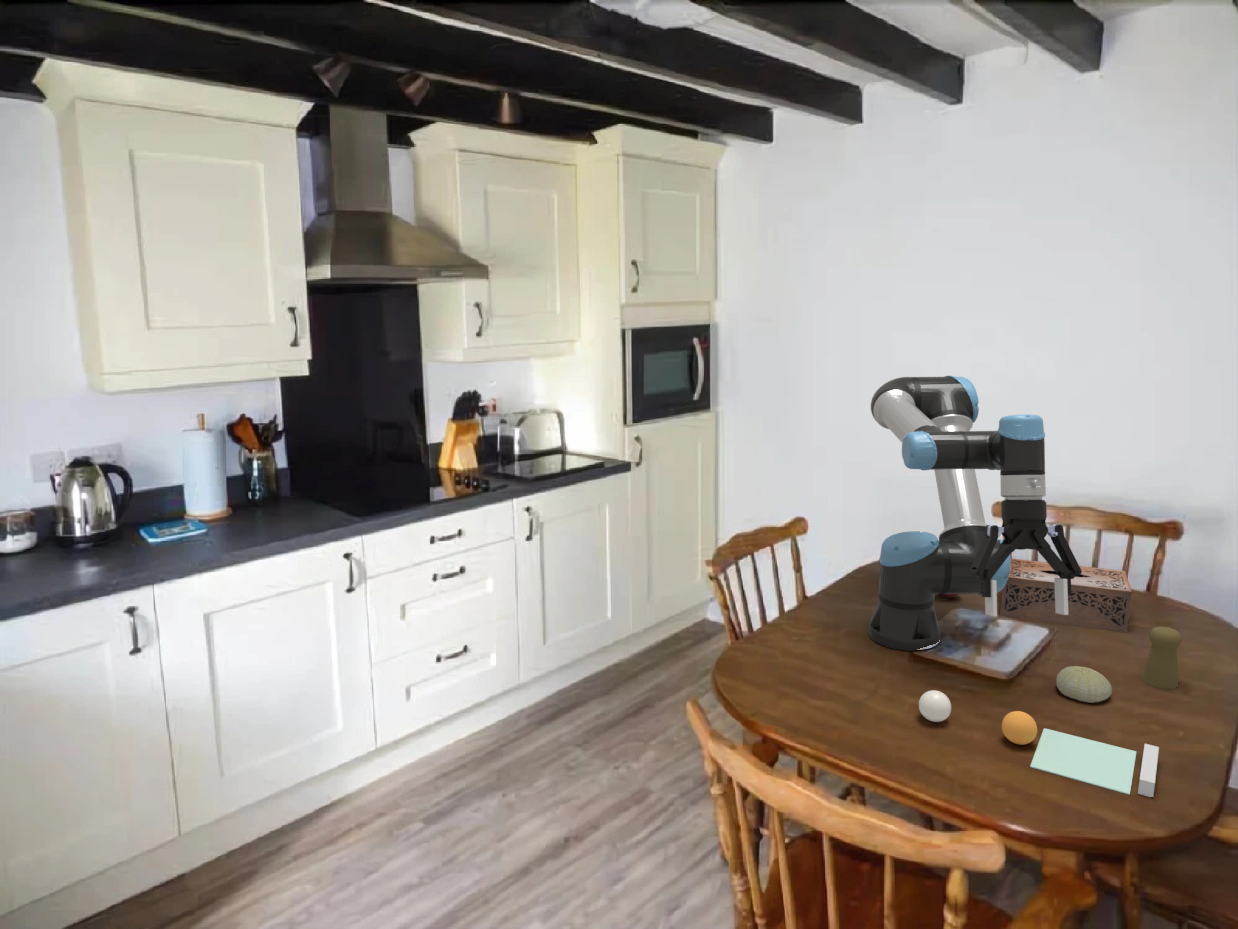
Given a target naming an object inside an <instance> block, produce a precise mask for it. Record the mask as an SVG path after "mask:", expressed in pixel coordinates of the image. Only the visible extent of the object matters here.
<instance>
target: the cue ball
mask: <svg viewBox="0 0 1238 929" xmlns="http://www.w3.org/2000/svg"><path fill="white" fill-rule="evenodd" d="M918 709H919V711H920V714H921V715H922V716H923V718H924V719H926V720H928V721H931V722H934V723H940V722H944V721H946V720H947V719H948V717H949V716H950V715H951V713H952V703H951V701H950V699H949V697H948V696H947V694H945V693H943V692H942V691H939V690H933V689H931V690H928V691H925V692H924V693H922V695H921V696H920V698H919V701H918Z"/></svg>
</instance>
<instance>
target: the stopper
mask: <svg viewBox="0 0 1238 929" xmlns="http://www.w3.org/2000/svg"><path fill="white" fill-rule="evenodd" d="M1143 747H1144V748H1143V754H1142V761H1141V767H1140V768H1141V769H1140V776H1139V783H1138V790H1137V794H1138V795H1142V796H1145V797H1147V798H1151V797H1153V798H1154V795H1155V794H1154V793H1155V786H1156V776H1157V768H1158V759H1159V750H1160V746H1157V745H1152V744H1148V743H1144V745H1143Z"/></svg>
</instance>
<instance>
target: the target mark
mask: <svg viewBox="0 0 1238 929" xmlns="http://www.w3.org/2000/svg"><path fill="white" fill-rule="evenodd" d="M1136 757H1137V751H1136V750H1132V749H1127V748H1124V747H1119V746H1116V745H1113V744H1108V743H1105V742H1101V741H1098V740H1093V739H1089V738H1088V739H1087V738H1085V737H1081V736H1078V735H1074V734H1073V735H1072V734H1069V733H1065V732H1060V731H1057V730H1053V729H1049V728H1046V727H1045V728H1043V729H1042V733H1041V735H1040V738H1039V740H1038V744H1037V746H1036V749H1035V752H1034V755H1033V757H1032V760H1031V763H1030V765H1029V767H1030V768H1031V769H1034V770H1035V769H1036V770H1038V771H1039V770H1040V771H1041V772H1042V771H1043V772H1046V773H1050V774H1053V775H1057V776H1061V777H1064V778H1068V779H1071V780H1074V781H1078V782H1082V783H1086V784H1089V785H1093V786H1096V787H1099V788H1104V789H1107V790H1111V791H1115V792H1117V793H1118V792H1119V793H1122V794H1126V795H1129V796H1130V794H1131V791H1132V790H1131V789H1132V784H1133V776H1134V769H1135V764H1136Z"/></svg>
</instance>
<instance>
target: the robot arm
mask: <svg viewBox="0 0 1238 929" xmlns="http://www.w3.org/2000/svg"><path fill="white" fill-rule="evenodd" d="M979 408H980V407H979V396H978V392H977V390H976V386H974V384H973V382H972V381H971V380H970V379H969V378H966V377H963V376H954V375H945V376H902V377H897V378H894V379H891V380H888V381H887V382H885V383H883V384H882V385H881V386H879V388H878V389H877V390H876V391H875V392H874V394H873V396H872V398H871V400H870V412H871V415H872V418H873V419H874V420H875V421H876V422H877V424H878V425H879V426H881V427H882V428H885V429H887V430H889V431H891V432H892V433H893V435H894V436H895V437H896V438H897V439H898V440H899V441H900V443H901V457H902V460H903V464H904V466H905V467H906V468H907V469H910V470H921V471H931V470H932V471H934V475H935V483H936V487H937V493H938V497H939V498H938V499H939V504H940V511H941V516H942V521H943V528H944V529H943V530H942V531H941V532H940V533H939V535H938V537H937V536H936V535H935V534H933V533H931V532H927V531H922V532H921V531H917V530H916V531H913V530H912V531H901V532H897V533H895V534H892V535H890V536H888V537H886V538H885V539H884V540H883V542H882V543H881V549H880V555H879V560H878V561H879V575H878V576H879V577H878V578H879V580H878V597H877V598H878V601H877V604H876V605H875V609H874V610H873V613H872V615H871V619H870V620H869V624H868V635H869V637H870V638H871V640H873V642H875V643H877V644H879V645H881V646H883V647H887V648H890V649H895V650H899V651H909V652H910V651H912V652H915V651H914V650H917V649H920V648H923V647H927V646H929V645H933V644H936V643H937V642H939V640H940V641H941V637H942V636H941V634H942V633H941V632H942V631H941V628H940V624H939V620H938V616H937V614H936V613H937V612H936V610H935V595H937V594H958V595H979V596H981V597H983V598H984V606H985V608H984V609H985V615H986V616H991V617H998V596H997V595H998V593H999V592H1002V589H1003V588H1004V587H1005V585H1006V583H1007V581H1008V577H1009V573H1010V566H1011V557H1012V556H1011V554H1013V552H1015V550H1019V551H1020V550H1021V551H1023V550H1034V551H1037V552H1038V553H1039V554H1040V556H1042V558H1043V560H1045V561H1046V562H1048V564H1049V565H1050V566H1051V567H1052V568H1053V570H1054V571H1055V572H1056V573H1057V574H1058V576H1059V577H1060V578H1054V582H1055V613H1058V614H1062V615H1068V596H1071V579H1073V578H1075V575H1080V574H1081V573H1082V571H1081V568H1080V567H1079V566H1080V565H1079V563H1078V561H1077V559H1076V557H1075V555H1074V552H1073V550H1072V548H1071V546H1070V544H1069V543H1068V541H1067V539H1066V537H1065V531H1064V526H1063V525H1061V524H1049V525H1047V524H1046V520H1047V517H1048V516H1047V514H1048V513H1047V511H1048V510H1047V501H1045V499H1043V497H1046V495H1047V494H1046V492H1047V491H1046V460H1045V458H1046V456H1045V453H1046V451H1045V450H1046V449H1045V438H1046V433H1045V428H1044V419H1043V418H1042V417H1041V415H1038V414H1012V415H1004V416H1002V417H1000V419H999V420H998V428H997V430H973V431H972V430H971V429H972V428H973V425H974V423H975V422H976V421H977V420H978V416H979V411H980V410H979ZM976 470H989V471H1000V472H999V473H1000V474H999V475H1000V497H1002V498H1004V500H1002V501H1000V506H1001V507H1000V508H1001V509H1000V510H1001V514H1000V515H1001V521H1002V525H1001V526H998V525H996V524H995V525H994V524H987V523H986V520H985V515H984V509H983V503H982V500H981V495H980V488H979V484H978V479H977V474H976ZM1001 535H1002V537H1003V538H1004V539H1000V537H1001ZM1047 535H1048V536H1049V537H1050V539H1051V542H1052V544H1053V546H1054V548H1055V550H1056V552H1057V553H1058V555H1057V554H1056V553H1055V551H1054V550H1053V548H1051V544H1050V543H1049V542H1048V541H1047V540H1046V539H1045V538H1046V536H1047Z"/></svg>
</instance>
